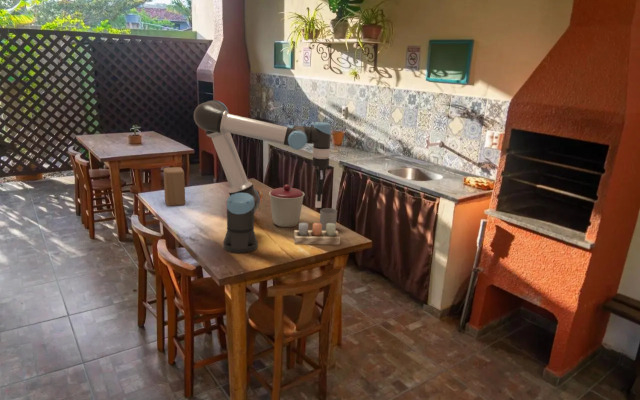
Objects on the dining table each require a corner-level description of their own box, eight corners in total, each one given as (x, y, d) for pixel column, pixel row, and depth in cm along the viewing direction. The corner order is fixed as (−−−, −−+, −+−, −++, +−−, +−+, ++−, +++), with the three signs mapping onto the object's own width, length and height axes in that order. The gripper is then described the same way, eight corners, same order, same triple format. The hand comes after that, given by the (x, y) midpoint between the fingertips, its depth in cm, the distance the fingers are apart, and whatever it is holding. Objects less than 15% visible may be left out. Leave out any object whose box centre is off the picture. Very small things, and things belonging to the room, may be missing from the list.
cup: (317, 227, 231) (318, 208, 228) (331, 225, 234) (333, 207, 231) (323, 232, 223) (324, 213, 221) (338, 231, 226) (339, 212, 223)
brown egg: (312, 235, 210) (313, 225, 209) (311, 232, 215) (312, 222, 213) (321, 236, 211) (322, 226, 209) (321, 232, 215) (321, 222, 214)
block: (164, 201, 258) (163, 167, 252) (182, 200, 262) (181, 166, 256) (167, 206, 249) (165, 171, 244) (185, 205, 254) (184, 170, 248)
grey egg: (298, 235, 210) (299, 225, 208) (298, 232, 214) (298, 222, 212) (308, 235, 210) (308, 225, 209) (307, 232, 214) (307, 222, 213)
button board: (294, 243, 208) (295, 237, 207) (293, 236, 217) (294, 230, 216) (339, 244, 210) (340, 238, 209) (337, 236, 219) (337, 230, 219)
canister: (261, 225, 229) (261, 185, 223) (280, 216, 245) (281, 178, 239) (291, 232, 221) (293, 191, 215) (309, 222, 237) (311, 183, 231)
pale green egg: (326, 236, 211) (327, 226, 210) (325, 232, 215) (325, 222, 214) (335, 236, 212) (336, 226, 210) (334, 232, 216) (335, 223, 214)
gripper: (331, 160, 197) (328, 211, 204) (327, 154, 209) (324, 203, 216) (314, 159, 196) (311, 211, 203) (311, 154, 208) (308, 202, 215)
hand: (318, 207), depth 209 cm, fingers closed
